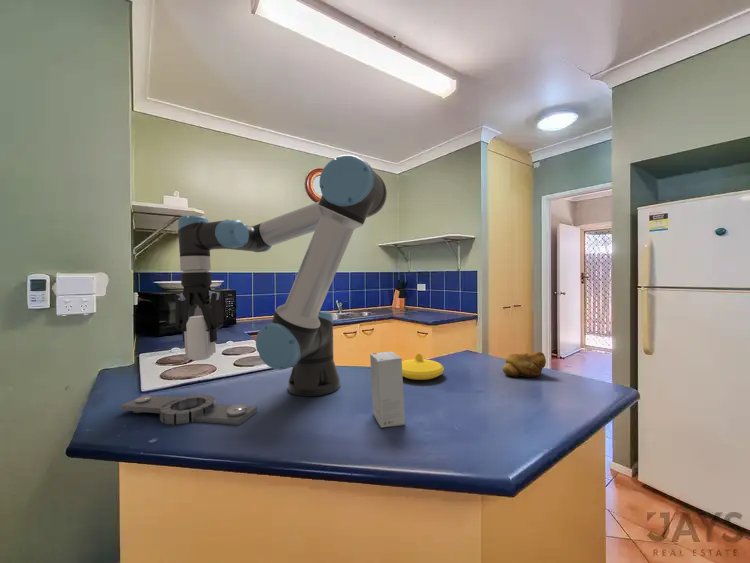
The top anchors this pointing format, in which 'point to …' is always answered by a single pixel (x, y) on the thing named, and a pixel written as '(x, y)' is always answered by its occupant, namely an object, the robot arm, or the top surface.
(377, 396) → the skincare box
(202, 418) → the grey pipe clamp bracket
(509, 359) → the bread roll
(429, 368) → the yellow lidded dish
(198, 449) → the top surface
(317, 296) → the robot arm
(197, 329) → the beverage can
